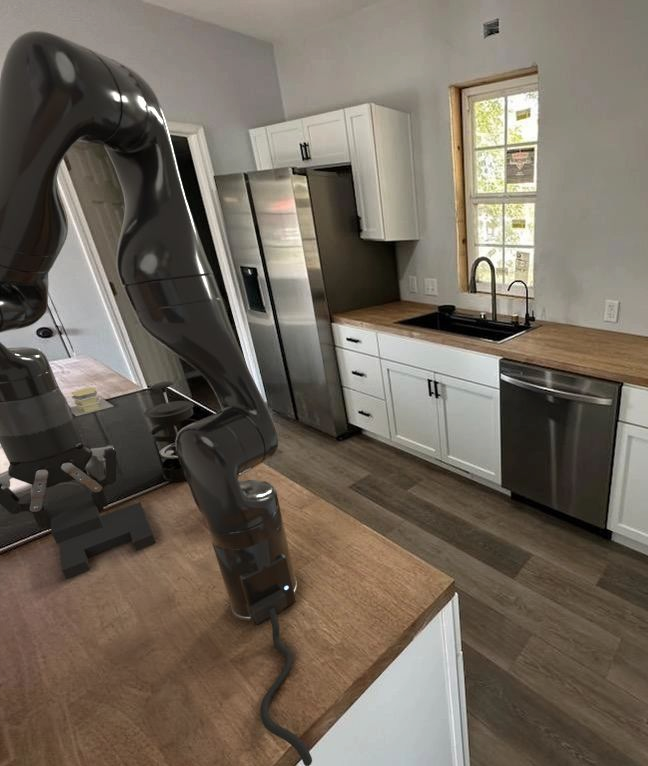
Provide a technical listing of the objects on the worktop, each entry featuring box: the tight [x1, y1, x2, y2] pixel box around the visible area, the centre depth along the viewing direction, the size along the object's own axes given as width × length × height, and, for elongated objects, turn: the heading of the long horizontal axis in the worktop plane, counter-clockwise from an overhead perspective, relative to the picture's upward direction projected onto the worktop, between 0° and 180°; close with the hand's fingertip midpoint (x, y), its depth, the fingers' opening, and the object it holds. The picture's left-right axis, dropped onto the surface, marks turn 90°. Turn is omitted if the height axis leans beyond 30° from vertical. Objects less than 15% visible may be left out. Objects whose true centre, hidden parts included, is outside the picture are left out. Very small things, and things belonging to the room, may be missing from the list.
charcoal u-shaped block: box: [58, 501, 157, 580], centre depth 78 cm, size 14×12×2 cm
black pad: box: [48, 489, 103, 544], centre depth 64 cm, size 10×5×2 cm, turn 48°
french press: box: [143, 381, 198, 483], centre depth 96 cm, size 12×9×23 cm
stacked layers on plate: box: [70, 386, 115, 417], centre depth 131 cm, size 10×9×6 cm
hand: (77, 517), depth 65 cm, fingers closed on black pad, 5 cm apart
